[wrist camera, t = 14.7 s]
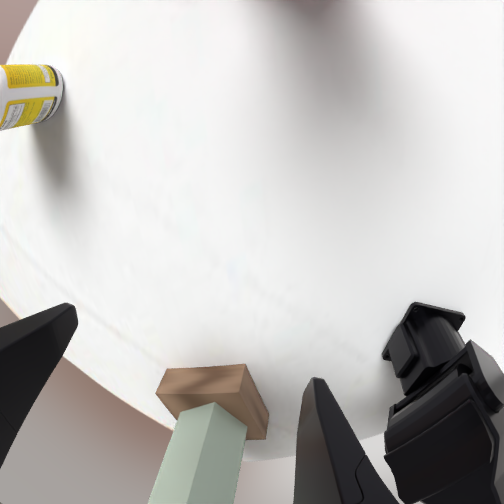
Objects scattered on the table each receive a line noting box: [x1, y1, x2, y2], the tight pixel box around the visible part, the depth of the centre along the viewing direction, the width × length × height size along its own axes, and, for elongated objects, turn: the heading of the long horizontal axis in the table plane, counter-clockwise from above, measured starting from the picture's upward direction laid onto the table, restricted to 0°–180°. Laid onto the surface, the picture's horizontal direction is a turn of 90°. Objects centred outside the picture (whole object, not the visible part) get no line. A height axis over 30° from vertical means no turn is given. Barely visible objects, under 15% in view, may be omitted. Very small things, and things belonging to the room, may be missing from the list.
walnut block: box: [155, 364, 269, 440], centre depth 29 cm, size 9×9×4 cm
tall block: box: [148, 402, 247, 504], centre depth 21 cm, size 5×5×12 cm
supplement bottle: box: [0, 65, 63, 131], centre depth 14 cm, size 5×5×10 cm
